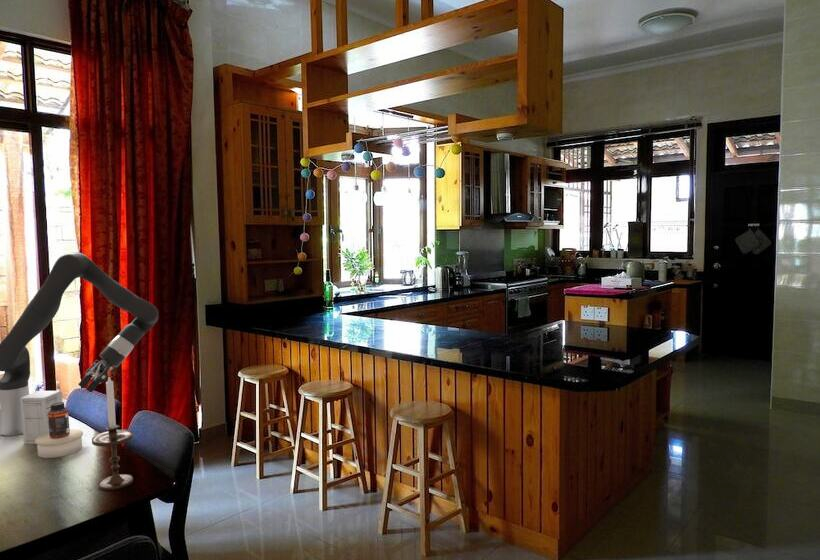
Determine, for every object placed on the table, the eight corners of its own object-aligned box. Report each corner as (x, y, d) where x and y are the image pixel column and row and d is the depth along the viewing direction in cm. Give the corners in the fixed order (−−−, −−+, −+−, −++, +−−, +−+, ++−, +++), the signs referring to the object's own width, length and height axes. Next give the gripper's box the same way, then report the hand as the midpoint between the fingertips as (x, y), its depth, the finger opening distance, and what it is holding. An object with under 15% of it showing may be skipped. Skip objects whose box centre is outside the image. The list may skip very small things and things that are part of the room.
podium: (27, 459, 189) (26, 444, 189) (49, 443, 203) (48, 430, 203) (72, 457, 190) (70, 442, 190) (91, 441, 204) (90, 428, 204)
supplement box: (66, 435, 212) (63, 390, 210) (48, 444, 203) (44, 397, 201) (42, 434, 213) (38, 390, 211) (23, 444, 204) (19, 397, 202)
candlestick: (143, 482, 170) (136, 365, 167) (104, 495, 162) (96, 373, 159) (126, 472, 177) (119, 360, 174) (88, 485, 169) (80, 367, 166)
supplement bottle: (73, 434, 198) (71, 401, 197) (57, 439, 193) (54, 406, 192) (62, 431, 201) (60, 400, 200) (45, 437, 195) (43, 404, 194)
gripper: (102, 342, 211) (69, 379, 204) (115, 347, 201) (81, 386, 194) (118, 354, 215) (86, 390, 208) (132, 359, 205) (99, 398, 198)
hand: (84, 388), depth 201 cm, fingers open, 8 cm apart
